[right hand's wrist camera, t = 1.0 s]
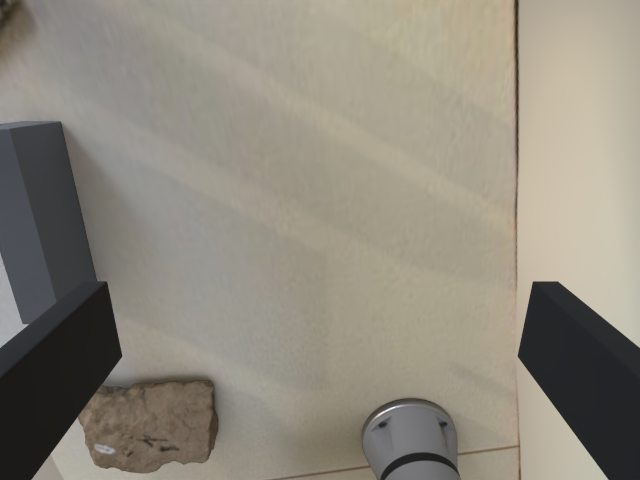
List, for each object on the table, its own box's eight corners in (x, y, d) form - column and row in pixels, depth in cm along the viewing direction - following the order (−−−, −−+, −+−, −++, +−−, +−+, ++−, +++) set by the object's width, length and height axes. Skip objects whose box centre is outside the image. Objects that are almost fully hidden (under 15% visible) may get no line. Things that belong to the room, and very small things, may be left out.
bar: (99, 290, 58) (62, 324, 50) (64, 290, 58) (22, 324, 50) (60, 121, 49) (9, 128, 41) (20, 121, 49) (-39, 128, 41)
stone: (84, 461, 65) (68, 489, 59) (77, 374, 63) (60, 393, 57) (219, 448, 69) (216, 473, 63) (217, 365, 66) (214, 382, 61)
